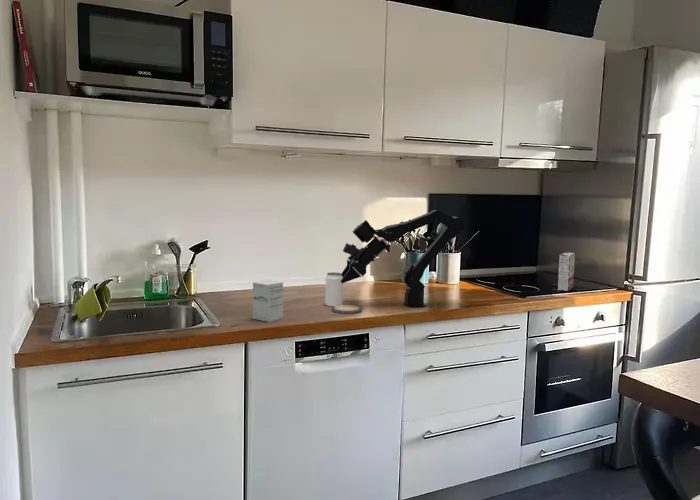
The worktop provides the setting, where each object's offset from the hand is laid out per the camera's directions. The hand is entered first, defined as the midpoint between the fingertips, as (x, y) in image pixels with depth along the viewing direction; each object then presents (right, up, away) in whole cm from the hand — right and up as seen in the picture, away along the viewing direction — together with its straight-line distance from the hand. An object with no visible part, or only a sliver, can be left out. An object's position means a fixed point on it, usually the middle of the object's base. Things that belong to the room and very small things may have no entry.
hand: (340, 280), depth 214 cm
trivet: (+2, -11, -8) cm, 13 cm away
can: (-3, -10, +1) cm, 10 cm away
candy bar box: (+100, -7, +41) cm, 108 cm away
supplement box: (-24, -12, -22) cm, 35 cm away
